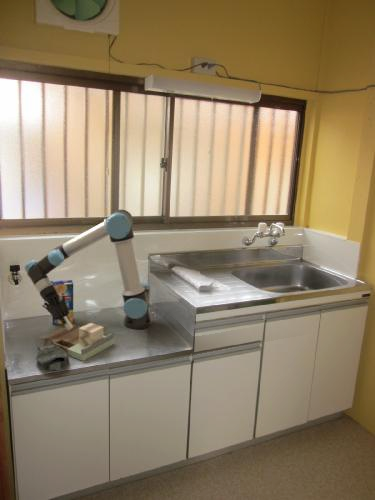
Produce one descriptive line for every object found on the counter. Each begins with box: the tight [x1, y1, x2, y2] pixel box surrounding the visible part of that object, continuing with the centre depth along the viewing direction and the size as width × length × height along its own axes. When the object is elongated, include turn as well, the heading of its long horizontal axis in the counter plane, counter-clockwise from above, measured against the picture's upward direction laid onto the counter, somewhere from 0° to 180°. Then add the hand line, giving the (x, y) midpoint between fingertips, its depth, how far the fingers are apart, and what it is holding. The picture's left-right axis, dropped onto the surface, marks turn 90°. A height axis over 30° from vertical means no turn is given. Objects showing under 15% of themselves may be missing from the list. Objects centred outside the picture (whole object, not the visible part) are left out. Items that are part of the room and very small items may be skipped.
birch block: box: [79, 322, 104, 347], centre depth 198 cm, size 8×8×8 cm
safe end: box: [68, 333, 114, 362], centre depth 199 cm, size 10×21×6 cm, turn 150°
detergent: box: [35, 338, 70, 372], centre depth 188 cm, size 13×7×25 cm
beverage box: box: [50, 279, 74, 325], centre depth 226 cm, size 7×11×22 cm, turn 111°
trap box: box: [39, 323, 82, 354], centre depth 206 cm, size 18×21×3 cm
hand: (70, 328), depth 204 cm, fingers closed
